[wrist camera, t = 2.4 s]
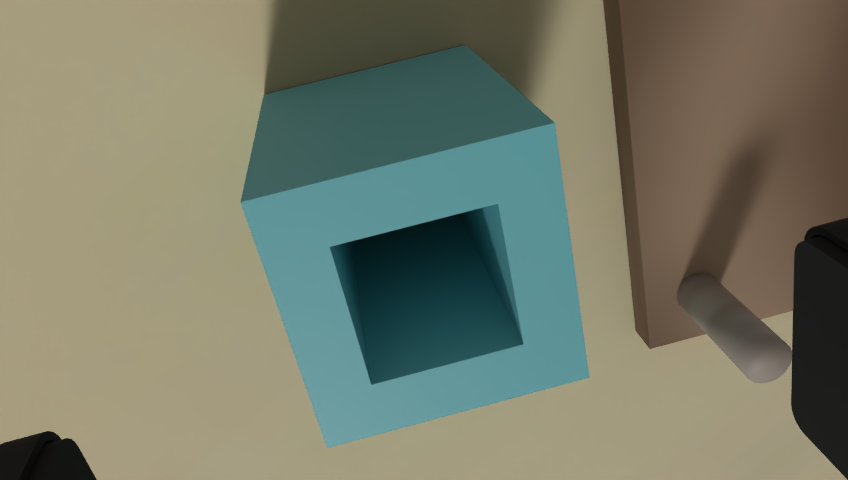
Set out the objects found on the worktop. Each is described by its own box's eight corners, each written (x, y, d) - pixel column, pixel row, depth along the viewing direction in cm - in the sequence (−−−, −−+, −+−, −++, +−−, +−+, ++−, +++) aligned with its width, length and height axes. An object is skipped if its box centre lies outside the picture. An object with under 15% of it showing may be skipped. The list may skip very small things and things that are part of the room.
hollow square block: (465, 44, 18) (554, 122, 11) (499, 227, 20) (589, 377, 14) (263, 94, 17) (240, 202, 11) (320, 273, 20) (327, 447, 13)
